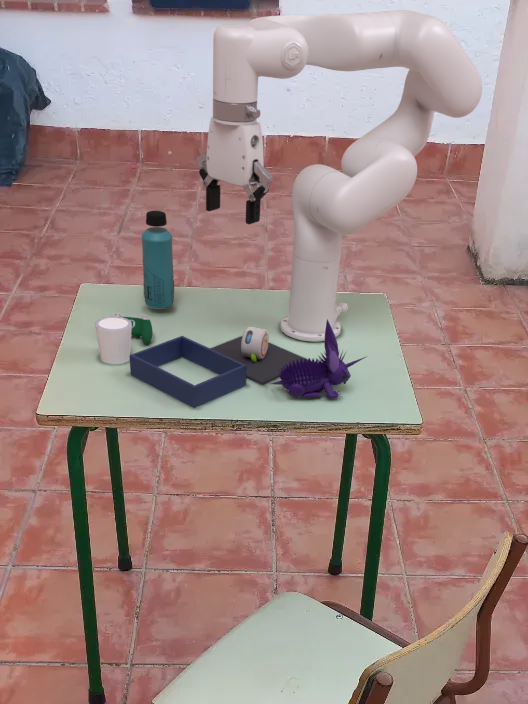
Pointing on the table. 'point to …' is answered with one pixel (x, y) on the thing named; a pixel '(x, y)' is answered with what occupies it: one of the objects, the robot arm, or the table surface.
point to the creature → (317, 372)
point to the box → (193, 395)
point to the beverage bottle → (157, 262)
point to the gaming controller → (140, 328)
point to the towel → (262, 368)
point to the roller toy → (254, 343)
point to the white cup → (114, 339)
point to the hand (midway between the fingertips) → (232, 216)
